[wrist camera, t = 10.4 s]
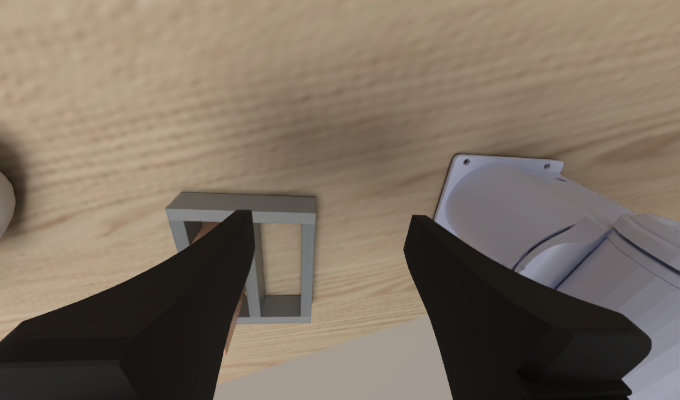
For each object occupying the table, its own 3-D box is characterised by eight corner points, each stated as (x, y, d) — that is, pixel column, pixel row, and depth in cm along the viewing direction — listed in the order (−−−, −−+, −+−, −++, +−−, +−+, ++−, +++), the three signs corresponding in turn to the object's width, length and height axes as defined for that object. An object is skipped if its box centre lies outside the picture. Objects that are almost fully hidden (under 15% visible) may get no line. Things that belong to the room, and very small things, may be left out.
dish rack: (315, 197, 21) (315, 213, 19) (311, 302, 28) (310, 323, 26) (181, 192, 20) (165, 208, 18) (208, 302, 27) (199, 324, 24)
